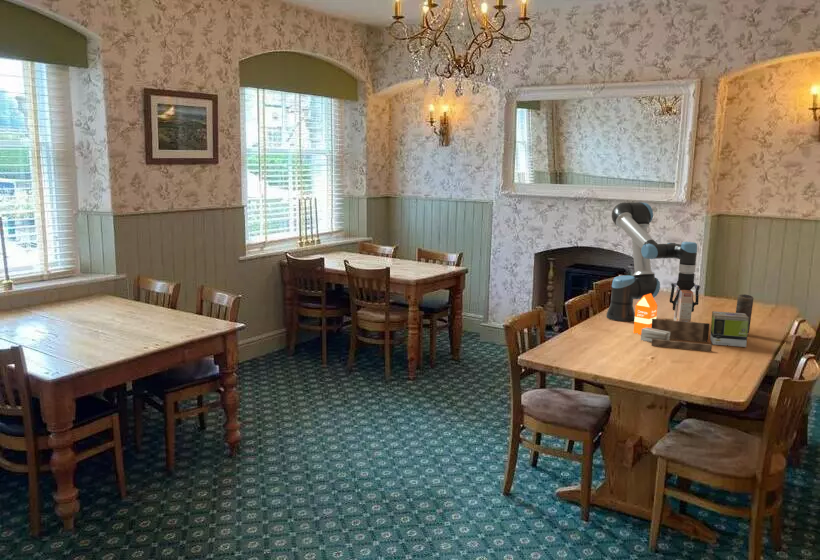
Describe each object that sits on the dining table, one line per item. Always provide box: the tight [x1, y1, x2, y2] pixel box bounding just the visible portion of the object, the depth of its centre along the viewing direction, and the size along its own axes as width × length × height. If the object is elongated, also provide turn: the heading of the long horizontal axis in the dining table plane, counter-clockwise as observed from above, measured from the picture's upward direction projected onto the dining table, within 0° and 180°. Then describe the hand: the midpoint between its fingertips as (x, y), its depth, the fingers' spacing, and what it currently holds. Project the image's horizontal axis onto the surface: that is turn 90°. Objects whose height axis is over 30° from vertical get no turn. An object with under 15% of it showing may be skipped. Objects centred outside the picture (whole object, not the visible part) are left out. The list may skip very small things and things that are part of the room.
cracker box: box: [673, 286, 695, 322], centre depth 342 cm, size 14×6×21 cm, turn 168°
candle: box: [735, 294, 755, 334], centre depth 340 cm, size 8×7×20 cm
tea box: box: [709, 310, 749, 348], centre depth 322 cm, size 15×10×15 cm, turn 73°
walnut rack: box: [651, 318, 713, 352], centre depth 321 cm, size 26×19×9 cm
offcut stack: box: [640, 327, 671, 344], centre depth 324 cm, size 6×12×6 cm, turn 44°
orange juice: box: [633, 293, 658, 335], centre depth 339 cm, size 8×9×20 cm
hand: (682, 317), depth 342 cm, fingers closed on cracker box, 6 cm apart
